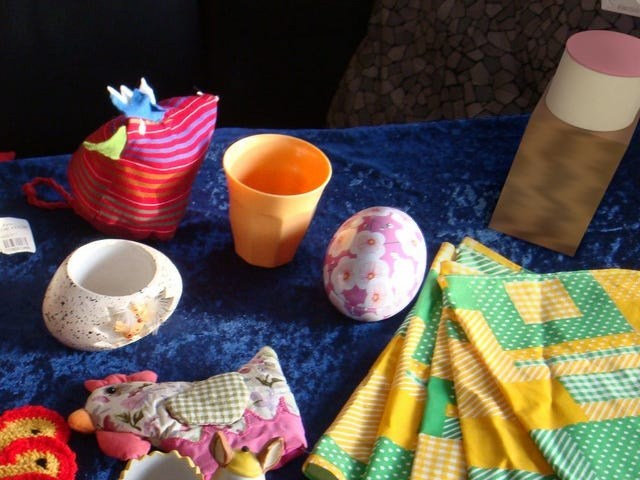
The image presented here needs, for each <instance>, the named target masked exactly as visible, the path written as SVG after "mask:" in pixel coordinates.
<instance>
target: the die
mask: <svg viewBox="0 0 640 480" xmlns="http://www.w3.org/2000/svg"><path fill="white" fill-rule="evenodd" d="M601 10H604V11H609V12H614V13H619V14H624V15H628V16H633V17H639V18H640V0H601Z"/></svg>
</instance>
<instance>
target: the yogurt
mask: <svg viewBox="0 0 640 480" xmlns="http://www.w3.org/2000/svg"><path fill="white" fill-rule="evenodd" d="M553 76H554V79H553V81H552V84H551V86H550V89H549V91H548V94H547V96H546V105H547V107H548V109H549V110H550V111H551V113H552V114H554V115H555V116H556V117H557V118H559V119H561V120H562V121H564V122H566V123H568V124H571V125H573V126H576V127H579V128H583V129H587V130H592V131H616V130H620V129H623V128H626V127H627V126H629V125H630V124H631V123H632V122H633V120H634V118H635V116H636V114H637V112H638V110H639V108H640V38H638V37H636V36H633V35H630V34H626V33H622V32H618V31H613V30H602V29H593V30H585V31H580V32H577V33H574V34H573V35H571V36H570V37H569V38H568V39H567V40H566V44H565V48H564V51H563V53H562V56H561V59H560V61H559V64H558V66H557V68H556V71H555V74H554V75H553Z"/></svg>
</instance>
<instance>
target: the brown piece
mask: <svg viewBox="0 0 640 480" xmlns="http://www.w3.org/2000/svg"><path fill="white" fill-rule="evenodd" d="M554 76H555V75H553V76H552V77H551V79H550V81H549V83H548V84H547V86H546V88H545V89H544V92H543V93H542V95H541V97H540V98H539V101H538V102H537V104H536V106H535V108H534V109H533V111H532V113H531V115H530V117H529V119H528V121H527V125H526V128H525V130H524V133H523V135H522V137H521V139H520V143H519V145H518V148H517V150H516V153H515V156H514V158H513V161H512V163H511V166H510V169H509V171H508V174H507V177H506V179H505V182H504V184H503V186H502V189H501V192H500V195H499V197H498V199H497V203H496V205H495V207H494V211H493V212H492V215H491V218H490V220H489V223H488V226H487V229H489V230H493V231H496V232H500V233H502V234H505V235H508V236H510V237H513V238H516V239H520V240H522V241H525V242H529V243H531V244H535V245H538V246H539V247H543V248H546V249H549V250H552V251H555V252H558V253H561V254H564V255H567V256H569V257H574V255H575V254H576V252H577V249H578V248H579V245H580V244H581V242H582V239H583V237H584V236H585V233H586V231H587V230H588V227H589V226H590V223H591V221H592V220H593V217H594V215H595V214H596V212H597V209H598V207H599V205H600V203H601V201H602V200H603V198H604V195H605V193H606V191H607V189H608V188H609V185H610V183H611V181H612V179H613V177H614V175H615V174H616V171H617V169H618V167H619V165H620V163H621V161H622V159H623V157H624V155H625V153H626V151H627V149H628V148H629V145H630V142H631V140H632V137H633V135H634V133H635V130H636V127H637V125H638V122H639V121H640V120H639V119H640V108H639V110H638V112H637V114H636V116H635V118H634V120H633V122H632V123H631V124H630V125H629V126H627V127H626V128H623V129H620V130H616V131H592V130H587V129H583V128H579V127H576V126H573V125H571V124H568V123H566V122H564V121H562V120H561V119H559V118H557V117H556V116H555V115H554V114H552V113H551V111H550V110H549V109H548V107H547V105H546V96H547V94H548V91H549V89H550V86H551V84H552V81H553V79H554Z"/></svg>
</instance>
